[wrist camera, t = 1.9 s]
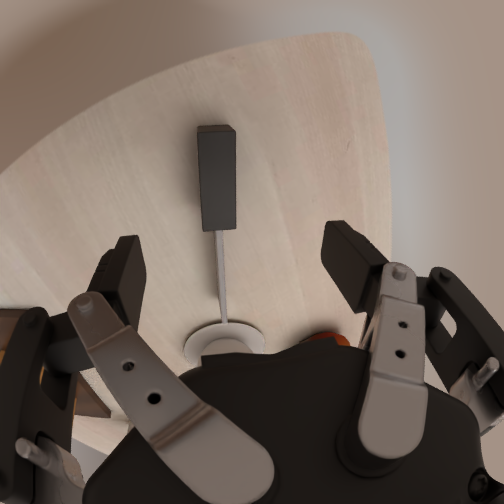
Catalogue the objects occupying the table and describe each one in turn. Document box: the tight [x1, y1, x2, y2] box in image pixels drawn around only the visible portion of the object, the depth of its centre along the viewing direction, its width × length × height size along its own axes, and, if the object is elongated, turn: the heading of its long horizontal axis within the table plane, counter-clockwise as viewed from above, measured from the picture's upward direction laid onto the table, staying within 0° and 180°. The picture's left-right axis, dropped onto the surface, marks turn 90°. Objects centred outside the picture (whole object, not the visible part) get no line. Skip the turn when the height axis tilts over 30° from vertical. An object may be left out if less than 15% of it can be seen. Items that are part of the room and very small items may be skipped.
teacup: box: [184, 323, 265, 367], centre depth 30 cm, size 10×10×5 cm
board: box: [0, 309, 111, 418], centre depth 29 cm, size 26×22×2 cm
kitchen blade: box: [197, 125, 236, 324], centre depth 22 cm, size 17×2×4 cm, turn 179°
